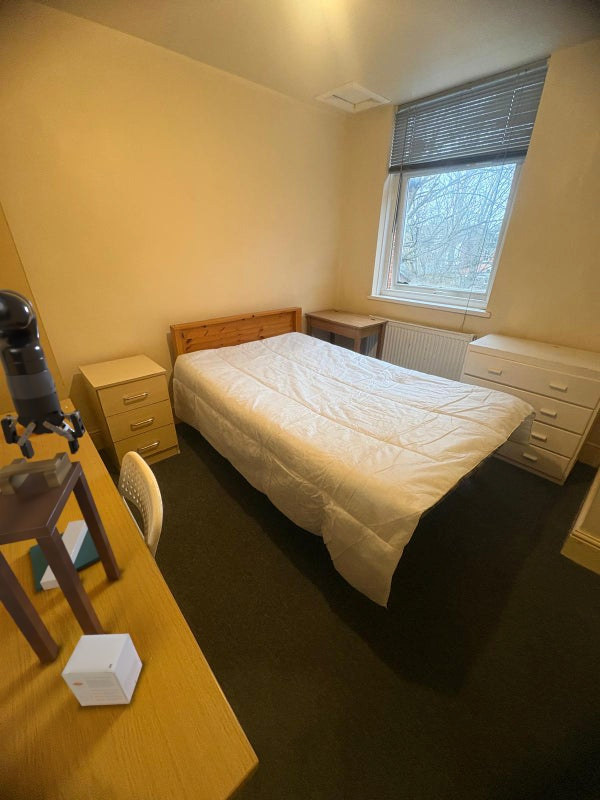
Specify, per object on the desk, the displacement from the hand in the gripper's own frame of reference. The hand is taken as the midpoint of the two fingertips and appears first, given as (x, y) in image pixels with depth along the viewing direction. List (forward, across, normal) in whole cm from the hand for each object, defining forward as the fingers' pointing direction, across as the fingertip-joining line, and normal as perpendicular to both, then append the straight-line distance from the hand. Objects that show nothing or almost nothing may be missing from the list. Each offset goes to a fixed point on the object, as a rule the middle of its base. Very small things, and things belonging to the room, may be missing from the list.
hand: (53, 454), depth 74 cm
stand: (+25, +8, -23) cm, 35 cm away
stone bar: (+24, 0, -8) cm, 25 cm away
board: (+25, 0, -6) cm, 26 cm away
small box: (+25, +15, -38) cm, 48 cm away
